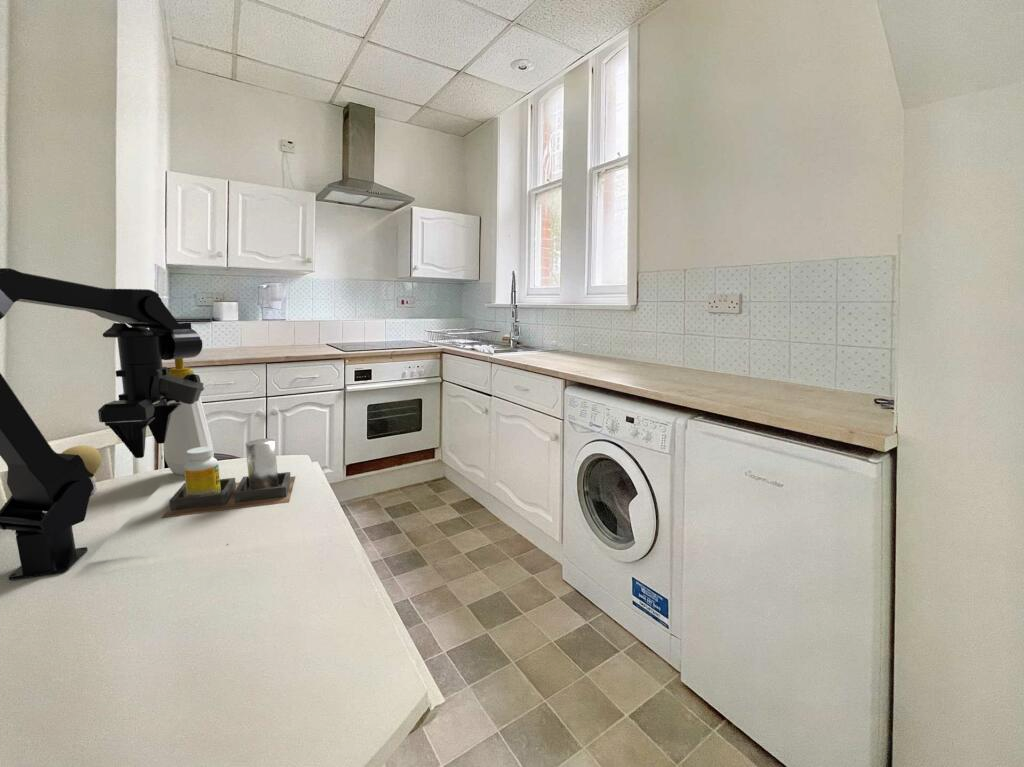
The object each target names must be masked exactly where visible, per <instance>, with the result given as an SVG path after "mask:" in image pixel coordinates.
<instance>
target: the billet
mask: <svg viewBox="0 0 1024 767" xmlns="http://www.w3.org/2000/svg"><path fill="white" fill-rule="evenodd" d="M276 449H277V448H276V441H275V439H274V438H258V439H253V440H250V441H248V442H246V443H245V452H246V462H247V473H248V476H249V487H250V490H251V489H260V488H269V487H278V486H279V485H278V473H279V472H278V463H277V461H278V460H277V450H276Z"/></svg>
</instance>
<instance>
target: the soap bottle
mask: <svg viewBox="0 0 1024 767" xmlns="http://www.w3.org/2000/svg"><path fill="white" fill-rule="evenodd" d="M174 365H175V367H173V368H168V369H169V374H170V376H174V377H182V378H184V377H185V376H186V375H188V374H190V373H192V374H195V373H194V372H195V371H194V370H193V369H191V367H184V358H182V359H174ZM173 403H176V401H175V400H173ZM177 403H182V402H177ZM198 447H212V449H213V450H214V444H213V440H212V437H211V434H210V430H209V425H208V422H207V417H206V414H205V409H204V405H203V402H202V398H201V396H200V397H199V400H198V401H195V402H194V403H193V404H186V403H182V404H181V405H180V406H179V407H178V408H177V409H176V410H174V411H173V412H172V414H171V418H170V422H169V426H168V431H167V435H166V440H165V443H163V455H164V461H165V462H166V464H167V466H168V468H169V470H170V471H171V472H172V473H173V474H175V475H181V476H185V473H184V465H185V463H186V462H187V461H189V460H188V458H187V451H188V450H190V449H193V448H198ZM214 453H215V452H213V456H212V457H213V458H215V456H214Z"/></svg>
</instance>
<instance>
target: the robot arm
mask: <svg viewBox="0 0 1024 767" xmlns="http://www.w3.org/2000/svg"><path fill="white" fill-rule="evenodd" d="M16 302H21V303H26V304H27V303H28V304H33V305H43V306H48V307H49V306H50V307H55V308H62V309H63V308H64V309H69V310H76V311H84V312H88V313H92V314H95V315H96V316H98V317H100V318H102V319H106V320H109V321H113V323H112V324H111V327H109V328H108V329H107V330H105V331H104V332H103V333H102V337H103V338H112V339H113V338H114V339H115V338H116V339H117V347H118V357H119V363H120V364H119V366H120V369H118V370H115V376H116V378H121V381H122V391H123V393H120V394H118V400H113V401H110V402H107V403H104V404H103V405H102V406H101V407H100V408H99V409H98V410H97V412H98V422H99V423H104V425H105V426H106V427H108V428H110V430H112V431H113V433H114V434H115V435H116V436H117V437H118V438H119V439H120V441H121V442H122V443H123V444H124V445H125V447H126V448H127V449H128V450H129V452H130V453H131V455H132V456H133V457H134V458H135V459H142V458H144V457H145V451H146V435H147V427H148V428H149V430H150V433H151V434H152V436H153V438H154V440H155V442H156V443H157V444H160V445H161V444H164V443H165V440H166V435H167V431H168V426H169V422H170V418H171V414H172V412H173V411H174V410H176V409H177V408H178V407H179V406H180V405H181V404H182V403H186V404H193V403H194V402H195V401H198V400H199V397H201V394H202V391H204V390H205V387H204V382H202V381H201V378H200V375H198V374H195V373H194V374H192V373H190V374H188V375H186V376H185V377H184V378H182V377H174V376H170V374H169V369H170V368H168V366H163V361H171V360H175V359H182V358H183V359H189V358H190V359H191V358H195V357H197V356H199V355H200V354H201V352H202V348H203V340H202V338H201V336H200V335H199V333H198V332H197V331H196V330H194V329H192V323H191V322H178V321H177V319H176V318H175V316H174V315H173V314H172V313H171V311H170V310H169V309H168V307H167V306H166V305H165V303H163V300H162V299H161V297H160V295H159V293H158V292H157V291H155V290H152V289H149V288H148V289H146V288H145V289H142V288H139V289H138V288H103V287H98V286H93V285H88V284H82V283H78V282H71V281H68V280H64V279H62V280H61V279H57V278H51V277H47V276H40V275H35V274H31V273H26V272H21V271H19V270H16V269H14V268H10V267H9V268H8V267H7V268H6V267H3V268H2V267H0V320H1V319H3V318H4V317H5V316H6V315H7V314H8V312H9V311H10V310H11V308H12V306H13V305H14V304H15V303H16ZM173 400H175V401H176V403H173ZM177 402H182V403H177ZM61 453H62V452H61ZM61 453H59V452H56V451H55V450H54V449H53V448H52V446H51V445H50V444H49V442H48V441H47V440H46V437H45V436H44V435H43V433H42V432H41V431H40V429H39V427H38V426H37V424H36V423H35V421H33V419H32V417H31V415H30V414H29V413H28V412H27V409H25V407H24V406H23V404H22V402H21V401H20V400H19V397H17V395H16V394H15V392H14V390H13V389H12V388H11V386H10V385H9V383H8V382H7V380H6V379H5V378H4V375H2V372H0V457H1V459H2V460H3V462H4V463H5V464H6V466H7V478H6V485H7V486H8V489H9V491H10V493H11V496H10V497H9V499H7V501H6V503H5V504H4V505H3V506H2V508H0V530H4V531H5V530H6V531H7V530H8V531H14V532H15V540H16V545H17V551H18V556H19V563H20V566H18V567H17V568H16V569H15V570H14V571H13V572H11V573H10V574H9V575H8V576H7V577H8V580H11V581H12V580H17V579H25V578H31V577H37V576H44V575H52V574H58V573H63V572H68V570H70V569H71V567H73V566H74V565H75V563H77V562H78V561H79V560H80V559H81V558H82V557H83V556H84V555H85V554H86V553H87V552H88V550H89V549H88V546H87V547H86V546H85V547H76V543H75V537H74V529H73V526H74V525H77V524H79V523H83V522H84V521H85V519H86V515H87V511H88V507H89V502H90V497H91V495H92V494H91V492H92V491H93V489H94V487H93V483H92V480H91V479H90V478H89V477H95V474H92V473H90V472H89V471H88V470H87V469H86V467H85V464H84V462H83V459H82V458H81V457H80V456H79V455H74V454H61Z"/></svg>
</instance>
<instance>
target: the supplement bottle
mask: <svg viewBox="0 0 1024 767" xmlns="http://www.w3.org/2000/svg"><path fill="white" fill-rule="evenodd" d="M213 453H214V448H213V449H212V447H198V448H193V449H190V450H188V451H187V458H188V460H189V461H187V462H186V463H185V465H184V473H185V475H184V480H185V482H184V483H186V491H187V497H189V496H198V495H207V494H216V493H221V487H220V477H221V476H220V467H219V461H218V460H217V458H215V457H214V458H213V457H212V456H213Z"/></svg>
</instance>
